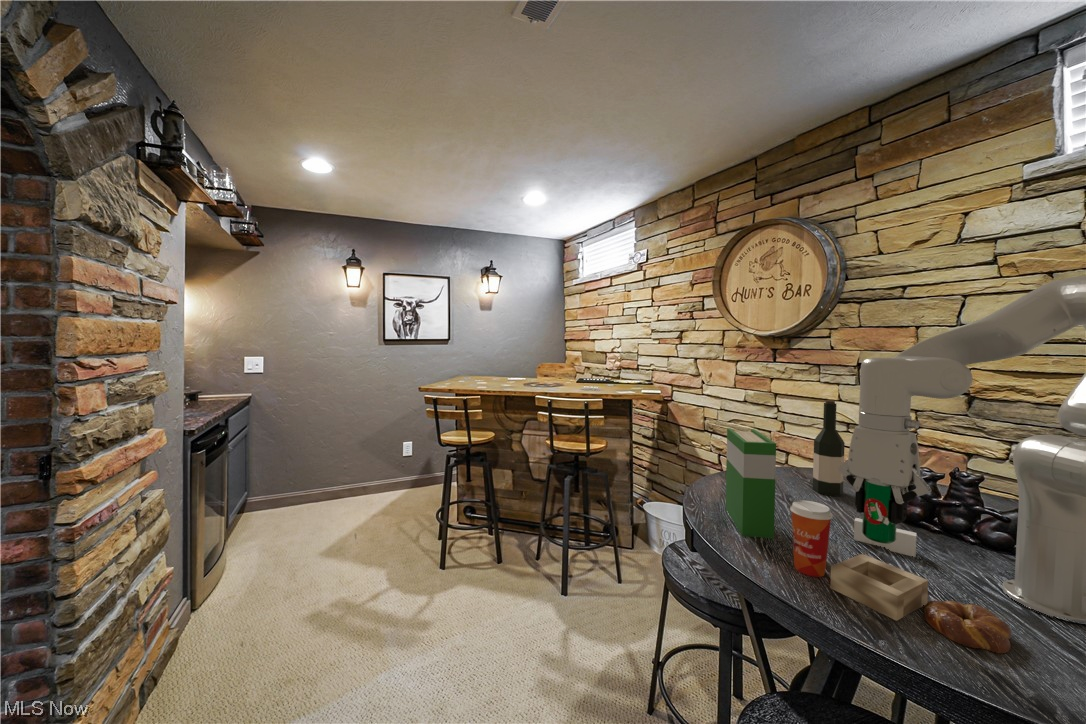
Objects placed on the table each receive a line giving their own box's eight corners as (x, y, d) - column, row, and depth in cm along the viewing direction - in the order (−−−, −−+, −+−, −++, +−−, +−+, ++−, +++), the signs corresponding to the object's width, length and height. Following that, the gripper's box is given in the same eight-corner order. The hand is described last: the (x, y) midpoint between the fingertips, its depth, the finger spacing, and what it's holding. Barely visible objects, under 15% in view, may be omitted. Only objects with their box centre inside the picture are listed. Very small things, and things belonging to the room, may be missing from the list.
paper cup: (780, 564, 92) (781, 502, 92) (805, 558, 95) (806, 497, 94) (814, 583, 85) (816, 515, 84) (840, 576, 88) (842, 510, 87)
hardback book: (725, 508, 123) (727, 428, 122) (752, 510, 122) (754, 429, 121) (742, 535, 106) (744, 442, 105) (773, 538, 105) (776, 443, 103)
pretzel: (940, 604, 79) (941, 585, 79) (1026, 641, 69) (1027, 619, 69) (909, 623, 73) (910, 602, 73) (997, 665, 64) (999, 642, 63)
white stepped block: (837, 537, 106) (838, 515, 106) (875, 533, 108) (876, 512, 108) (896, 568, 91) (897, 542, 91) (939, 563, 93) (940, 538, 93)
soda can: (883, 533, 83) (885, 473, 82) (902, 545, 77) (905, 481, 77) (855, 531, 83) (858, 472, 82) (873, 544, 78) (876, 480, 77)
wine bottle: (806, 488, 140) (808, 399, 139) (825, 486, 143) (827, 398, 141) (830, 497, 132) (833, 403, 131) (849, 494, 135) (852, 401, 133)
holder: (927, 603, 78) (928, 580, 78) (896, 620, 73) (897, 596, 73) (861, 574, 88) (861, 553, 88) (830, 588, 83) (830, 566, 83)
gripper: (951, 429, 73) (946, 531, 74) (845, 414, 89) (842, 498, 89) (931, 433, 70) (926, 539, 71) (824, 417, 85) (821, 504, 86)
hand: (879, 515), depth 80 cm, fingers closed on soda can, 5 cm apart
